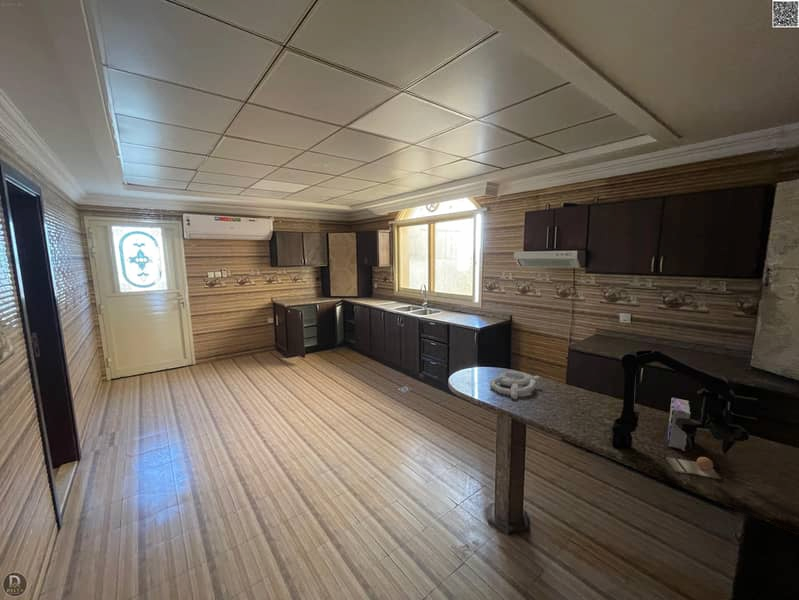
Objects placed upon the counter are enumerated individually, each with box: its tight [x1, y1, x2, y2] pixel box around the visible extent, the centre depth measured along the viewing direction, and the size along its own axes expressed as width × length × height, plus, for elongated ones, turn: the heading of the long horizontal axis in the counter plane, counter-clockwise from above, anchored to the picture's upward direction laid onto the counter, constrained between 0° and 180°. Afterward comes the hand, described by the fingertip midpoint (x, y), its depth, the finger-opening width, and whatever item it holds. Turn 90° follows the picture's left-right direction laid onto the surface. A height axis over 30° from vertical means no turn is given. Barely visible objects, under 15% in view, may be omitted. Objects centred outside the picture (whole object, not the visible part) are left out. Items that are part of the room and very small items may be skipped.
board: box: [665, 456, 722, 480], centre depth 120 cm, size 13×8×1 cm, turn 71°
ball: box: [696, 456, 714, 470], centre depth 118 cm, size 4×4×4 cm
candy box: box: [667, 397, 692, 452], centre depth 136 cm, size 14×6×16 cm, turn 141°
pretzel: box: [489, 370, 541, 400], centre depth 190 cm, size 28×24×6 cm
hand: (707, 450), depth 117 cm, fingers open, 9 cm apart
